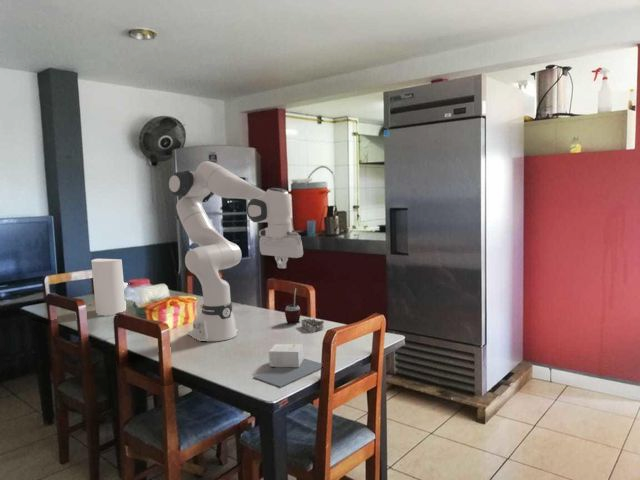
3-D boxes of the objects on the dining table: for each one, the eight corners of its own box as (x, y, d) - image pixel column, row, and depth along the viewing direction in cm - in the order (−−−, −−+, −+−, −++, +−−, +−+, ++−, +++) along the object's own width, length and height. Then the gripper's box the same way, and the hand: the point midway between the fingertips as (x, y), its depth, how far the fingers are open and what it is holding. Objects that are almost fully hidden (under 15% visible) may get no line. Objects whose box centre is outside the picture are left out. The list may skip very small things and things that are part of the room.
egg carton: (325, 330, 209) (325, 321, 209) (309, 333, 206) (308, 324, 206) (315, 324, 219) (315, 315, 219) (300, 327, 216) (299, 317, 216)
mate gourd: (288, 326, 217) (287, 293, 215) (282, 322, 224) (280, 290, 222) (304, 323, 220) (302, 291, 218) (297, 319, 227) (296, 287, 225)
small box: (269, 366, 168) (298, 367, 166) (268, 351, 167) (298, 351, 165) (275, 358, 176) (304, 359, 174) (275, 343, 175) (303, 344, 173)
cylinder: (112, 317, 246) (107, 262, 243) (88, 314, 253) (83, 261, 250) (139, 308, 261) (134, 256, 258) (115, 306, 269) (111, 256, 266)
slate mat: (253, 377, 160) (253, 376, 160) (300, 358, 176) (300, 357, 176) (280, 387, 151) (280, 386, 151) (327, 366, 167) (327, 365, 167)
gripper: (306, 231, 178) (307, 269, 180) (268, 229, 192) (270, 264, 194) (293, 233, 174) (295, 271, 175) (255, 231, 187) (257, 267, 189)
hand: (281, 268), depth 185 cm, fingers closed
